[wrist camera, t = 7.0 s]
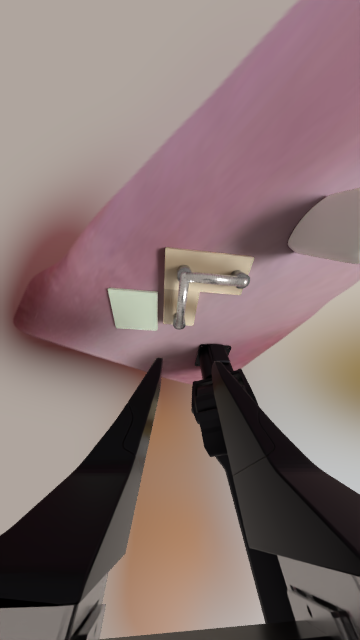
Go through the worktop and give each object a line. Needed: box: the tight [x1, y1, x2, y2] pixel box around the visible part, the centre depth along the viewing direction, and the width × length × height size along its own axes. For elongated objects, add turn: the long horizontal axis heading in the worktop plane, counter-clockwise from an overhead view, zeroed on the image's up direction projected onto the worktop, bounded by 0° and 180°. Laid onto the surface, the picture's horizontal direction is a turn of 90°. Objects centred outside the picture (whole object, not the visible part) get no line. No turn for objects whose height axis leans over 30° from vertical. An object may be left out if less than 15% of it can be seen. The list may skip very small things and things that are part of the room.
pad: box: [108, 288, 158, 331], centre depth 21 cm, size 7×7×1 cm
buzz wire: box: [163, 247, 254, 329], centre depth 19 cm, size 11×11×4 cm
